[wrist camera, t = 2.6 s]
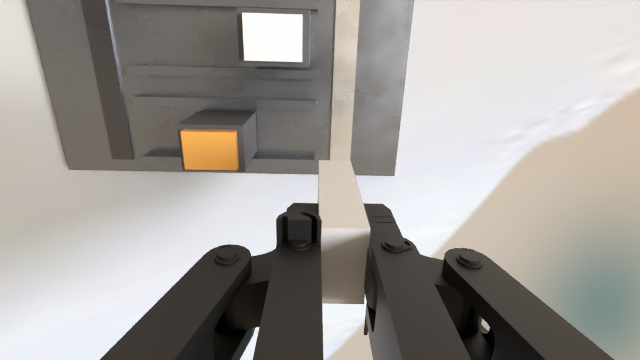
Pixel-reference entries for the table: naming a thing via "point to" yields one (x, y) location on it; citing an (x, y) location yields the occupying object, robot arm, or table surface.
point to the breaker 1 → (218, 140)
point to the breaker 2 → (274, 37)
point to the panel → (222, 81)
